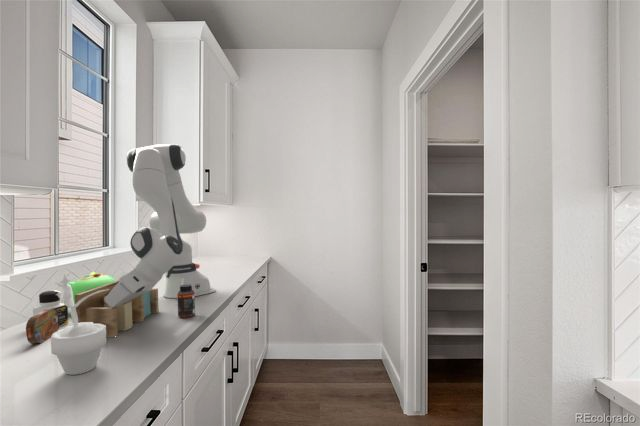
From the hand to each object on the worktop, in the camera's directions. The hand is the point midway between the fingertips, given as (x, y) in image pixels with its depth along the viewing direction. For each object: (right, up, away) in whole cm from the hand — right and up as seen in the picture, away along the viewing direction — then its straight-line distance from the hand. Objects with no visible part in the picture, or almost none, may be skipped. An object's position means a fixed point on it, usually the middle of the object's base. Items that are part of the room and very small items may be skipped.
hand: (116, 307), depth 122 cm
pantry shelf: (0, -7, +4) cm, 8 cm away
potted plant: (+9, -8, -31) cm, 33 cm away
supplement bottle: (+19, -7, +12) cm, 24 cm away
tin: (-18, -8, -8) cm, 21 cm away
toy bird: (-23, -7, +25) cm, 34 cm away
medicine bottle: (-25, -8, +5) cm, 27 cm away
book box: (+1, -7, 0) cm, 7 cm away
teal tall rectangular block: (+1, -7, +13) cm, 15 cm away
